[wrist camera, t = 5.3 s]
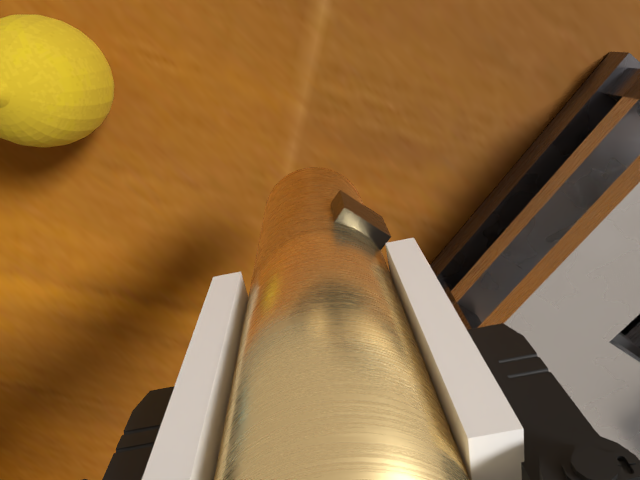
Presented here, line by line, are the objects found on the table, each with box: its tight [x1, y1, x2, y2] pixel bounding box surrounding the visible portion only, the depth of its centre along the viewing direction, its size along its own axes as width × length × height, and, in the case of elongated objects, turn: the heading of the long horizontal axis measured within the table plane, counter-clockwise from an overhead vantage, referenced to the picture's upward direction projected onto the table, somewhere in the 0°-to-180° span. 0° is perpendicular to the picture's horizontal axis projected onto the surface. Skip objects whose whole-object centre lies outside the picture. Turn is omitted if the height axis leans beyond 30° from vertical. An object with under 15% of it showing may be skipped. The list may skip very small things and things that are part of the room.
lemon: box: [0, 15, 114, 147], centre depth 21 cm, size 6×6×8 cm
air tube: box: [214, 168, 470, 480], centre depth 12 cm, size 4×4×16 cm
